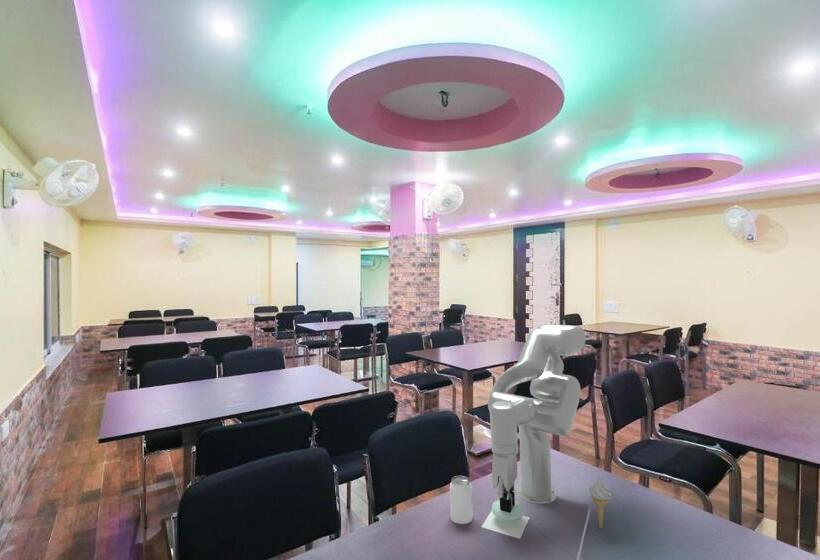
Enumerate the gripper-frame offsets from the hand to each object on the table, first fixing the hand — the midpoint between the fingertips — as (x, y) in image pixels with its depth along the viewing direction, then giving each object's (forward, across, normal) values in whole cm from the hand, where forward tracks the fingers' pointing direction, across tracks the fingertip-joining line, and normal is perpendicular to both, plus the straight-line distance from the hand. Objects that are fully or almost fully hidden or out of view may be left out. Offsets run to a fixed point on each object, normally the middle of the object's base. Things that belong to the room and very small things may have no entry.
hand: (507, 507), depth 118 cm
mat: (+5, +1, 0) cm, 5 cm away
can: (+5, +5, -12) cm, 14 cm away
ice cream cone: (+6, -10, +24) cm, 26 cm away
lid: (+1, 0, 0) cm, 1 cm away
